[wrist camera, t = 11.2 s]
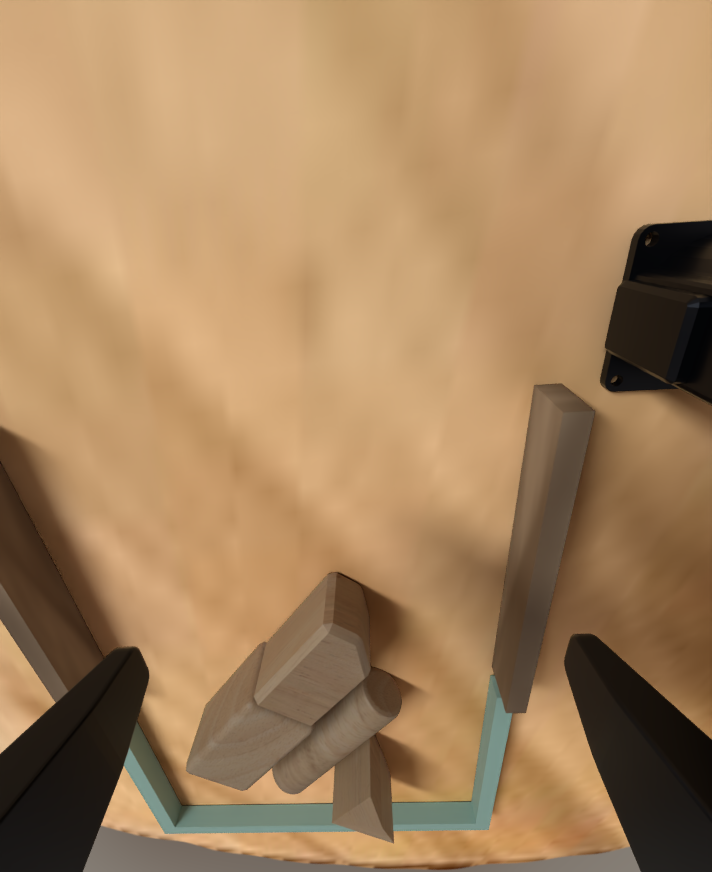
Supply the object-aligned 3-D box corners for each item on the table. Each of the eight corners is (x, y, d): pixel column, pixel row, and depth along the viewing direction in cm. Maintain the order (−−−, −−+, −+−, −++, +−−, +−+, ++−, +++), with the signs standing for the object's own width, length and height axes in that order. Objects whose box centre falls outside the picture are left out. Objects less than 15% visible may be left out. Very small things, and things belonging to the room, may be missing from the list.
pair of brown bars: (561, 383, 18) (595, 411, 16) (510, 665, 28) (525, 712, 25) (-51, 413, 19) (-116, 444, 17) (95, 676, 29) (69, 722, 26)
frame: (508, 674, 28) (515, 697, 27) (483, 807, 37) (488, 829, 36) (100, 684, 29) (88, 707, 28) (172, 812, 38) (165, 833, 37)
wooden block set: (169, 798, 26) (319, 645, 19) (200, 705, 31) (328, 558, 24) (385, 865, 30) (572, 759, 23) (382, 774, 35) (535, 664, 29)
